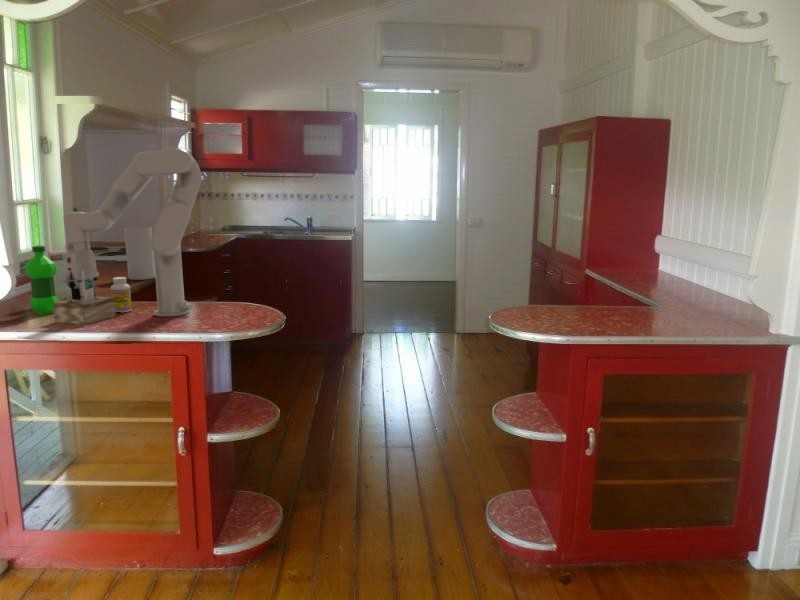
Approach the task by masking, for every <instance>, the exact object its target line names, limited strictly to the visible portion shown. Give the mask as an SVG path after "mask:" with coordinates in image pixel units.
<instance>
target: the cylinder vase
mask: <svg viewBox="0 0 800 600" xmlns="http://www.w3.org/2000/svg"><path fill="white" fill-rule="evenodd" d="M123 231H124V232H123V233H124V242H125V254H126V262H127V263H126V265H127V266H126V267H127V275H128V279H129V280H130V281H143V280H144V281H146V280H152V279H155V266H154V251H153V250H152V248H151V237H152V235H153V232H152V227H150V226H136V227H135V226H133V227H125V228H124V229H123Z"/></svg>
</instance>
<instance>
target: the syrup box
mask: <svg viewBox="0 0 800 600" xmlns="http://www.w3.org/2000/svg"><path fill="white" fill-rule="evenodd" d="M84 272H85V271H82V277H83V280H80V281H79V284H78V288H79V289H80V300H74V299H72V302H79V303H85V302H90V301H94V300H96V297H97V295H96V287H95V285H94V278H86V276H85V274H84ZM73 279H74V278H73ZM74 284H75V282H74ZM71 296H72V293H71Z"/></svg>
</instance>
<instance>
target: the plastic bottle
mask: <svg viewBox="0 0 800 600" xmlns="http://www.w3.org/2000/svg"><path fill="white" fill-rule="evenodd" d="M31 248H32V249H31V251H32V253H34V256H33V257H32V258H31V259H30V260H28V262H27V263H26V264H25V267H24V269H25V274H26V276H27V277H28V278H29V280H30V288H31V289H30V290H31V295H32V297H31V298H30V301H29V303H30V307H31V308H32V310H33V311H34V312H35V313H37V315H49V313H50V314H54V310H53V302H58V301H59V300H58V298H57V297H56V295H55V286H54V277H53V276H54V275H55V274H56V265H55V263H54V262H53V261H51V260H50V259H49V258H48V256H46V255H45V252H46V246H45V245H35V246H32V247H31Z"/></svg>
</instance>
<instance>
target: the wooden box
mask: <svg viewBox="0 0 800 600" xmlns="http://www.w3.org/2000/svg"><path fill="white" fill-rule="evenodd" d="M53 310H54V311H53V317H54V323H59V322H61V324H72V323H73V324H74V325H90V324H93V323H96V322H101V321H104V319H105V320H108V319H112V318H114V317H113V316H115V317H116V313H115V306H114V298H113V297H111V296H109V297H108V296H96V300H94V301H90V302H85V303H79V302H72V298H71V299H67V300H62V301H58V302H53ZM111 317H112V318H111ZM107 318H108V319H107ZM73 324H72V325H73Z"/></svg>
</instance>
